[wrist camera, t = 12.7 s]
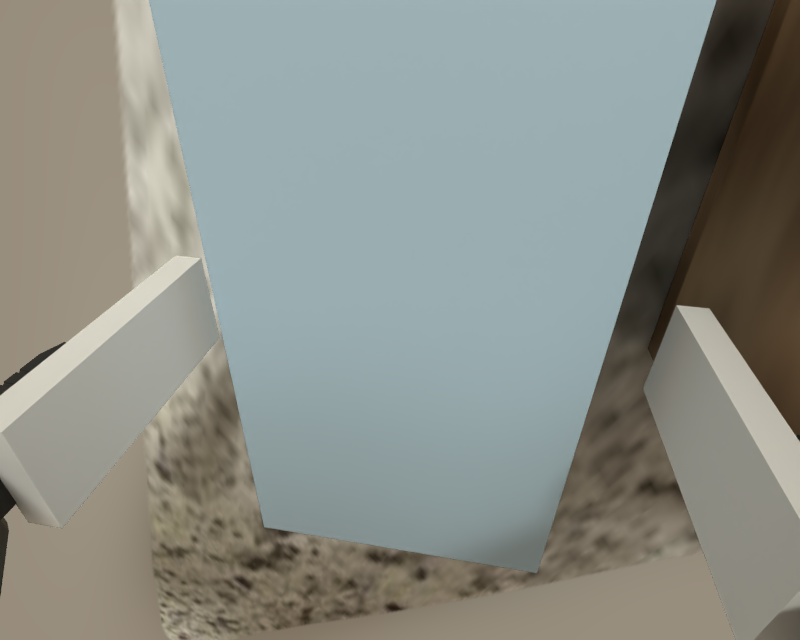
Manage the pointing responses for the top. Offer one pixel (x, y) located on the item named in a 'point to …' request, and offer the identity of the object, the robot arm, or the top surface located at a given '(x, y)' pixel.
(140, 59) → the top surface
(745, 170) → the box
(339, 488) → the light blue block
